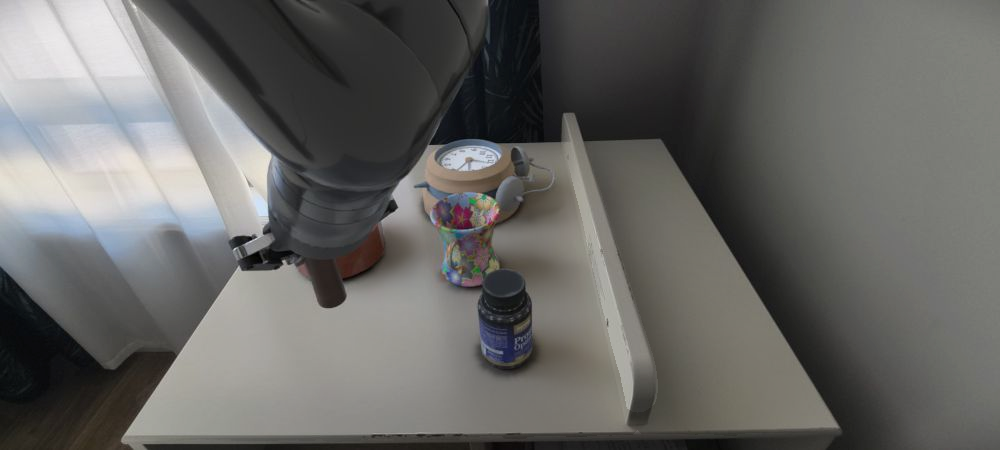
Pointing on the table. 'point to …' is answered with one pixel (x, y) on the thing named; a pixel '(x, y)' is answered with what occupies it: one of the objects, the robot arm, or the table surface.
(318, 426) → the table surface
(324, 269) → the stick
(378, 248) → the bowl
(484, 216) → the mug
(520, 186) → the alarm clock
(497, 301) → the pill bottle
